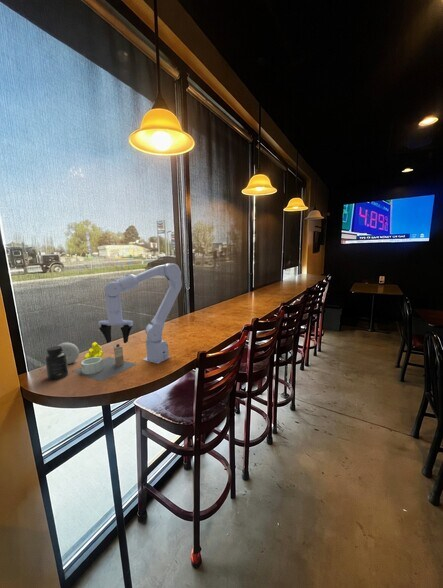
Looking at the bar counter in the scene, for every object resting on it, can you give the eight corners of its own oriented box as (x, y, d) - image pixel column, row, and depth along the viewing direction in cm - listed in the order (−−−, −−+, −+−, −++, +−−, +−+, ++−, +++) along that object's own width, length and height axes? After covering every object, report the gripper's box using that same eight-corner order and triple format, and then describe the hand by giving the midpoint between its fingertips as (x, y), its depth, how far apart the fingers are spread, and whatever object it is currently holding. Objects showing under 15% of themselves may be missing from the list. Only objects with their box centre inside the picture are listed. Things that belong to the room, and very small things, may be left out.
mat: (137, 365, 106) (137, 364, 106) (100, 382, 92) (100, 381, 92) (109, 357, 116) (109, 356, 116) (72, 372, 102) (72, 371, 101)
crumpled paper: (82, 360, 114) (80, 344, 113) (98, 354, 121) (96, 339, 120) (90, 362, 111) (88, 346, 110) (106, 356, 118) (104, 340, 117)
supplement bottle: (46, 377, 98) (42, 348, 96) (66, 371, 102) (62, 343, 101) (49, 383, 93) (45, 352, 91) (70, 376, 97) (67, 347, 96)
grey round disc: (53, 367, 107) (50, 345, 105) (56, 364, 110) (53, 342, 108) (79, 364, 109) (76, 342, 108) (81, 361, 113) (78, 340, 111)
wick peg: (123, 364, 106) (122, 344, 105) (116, 366, 105) (114, 346, 104) (122, 362, 109) (121, 342, 108) (115, 363, 107) (113, 344, 106)
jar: (107, 368, 103) (106, 359, 102) (89, 376, 97) (88, 366, 96) (95, 365, 107) (94, 355, 106) (78, 372, 100) (77, 362, 100)
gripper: (135, 308, 107) (138, 339, 108) (104, 309, 109) (107, 339, 110) (127, 312, 100) (130, 344, 102) (93, 312, 102) (97, 344, 103)
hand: (117, 342), depth 106 cm, fingers open, 7 cm apart
